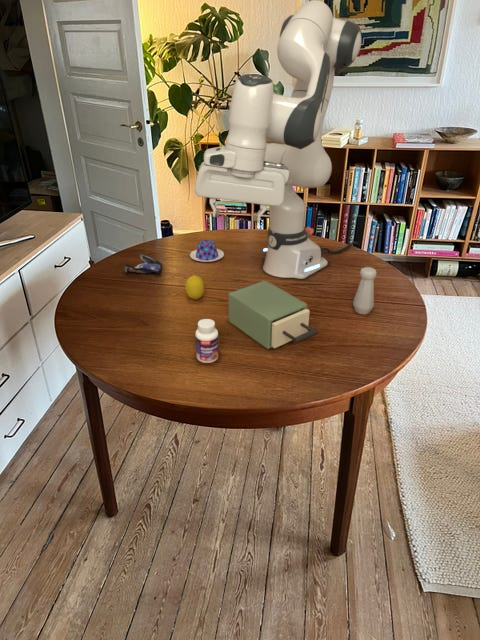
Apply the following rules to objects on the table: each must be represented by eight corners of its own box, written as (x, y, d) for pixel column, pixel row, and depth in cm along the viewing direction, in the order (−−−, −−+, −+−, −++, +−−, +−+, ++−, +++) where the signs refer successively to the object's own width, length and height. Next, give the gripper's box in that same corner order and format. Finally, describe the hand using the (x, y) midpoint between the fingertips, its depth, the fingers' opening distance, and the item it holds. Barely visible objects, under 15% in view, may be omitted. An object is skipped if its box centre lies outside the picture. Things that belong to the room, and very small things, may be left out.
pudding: (189, 264, 158) (188, 249, 155) (190, 250, 168) (189, 236, 165) (225, 263, 159) (224, 248, 156) (223, 249, 169) (222, 235, 166)
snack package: (137, 262, 159) (119, 275, 150) (138, 245, 156) (119, 257, 146) (169, 273, 157) (151, 287, 147) (170, 256, 153) (153, 269, 144)
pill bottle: (200, 365, 109) (199, 331, 104) (193, 353, 114) (191, 319, 109) (222, 360, 111) (221, 326, 106) (214, 348, 115) (213, 315, 110)
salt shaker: (350, 313, 130) (356, 271, 123) (353, 304, 134) (359, 263, 127) (371, 317, 128) (378, 275, 121) (373, 307, 132) (381, 266, 126)
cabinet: (304, 332, 122) (307, 303, 117) (267, 349, 115) (268, 319, 111) (264, 307, 133) (265, 280, 128) (228, 321, 126) (228, 293, 122)
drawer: (322, 342, 116) (325, 319, 112) (288, 358, 110) (290, 334, 107) (269, 309, 130) (269, 287, 127) (236, 322, 124) (236, 299, 121)
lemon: (202, 305, 134) (200, 280, 130) (183, 303, 135) (181, 278, 131) (207, 296, 139) (206, 271, 134) (189, 294, 140) (187, 270, 135)
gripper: (289, 161, 105) (278, 220, 112) (198, 149, 103) (193, 209, 110) (292, 168, 99) (281, 229, 107) (197, 155, 97) (191, 218, 105)
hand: (235, 219), depth 108 cm, fingers open, 8 cm apart
